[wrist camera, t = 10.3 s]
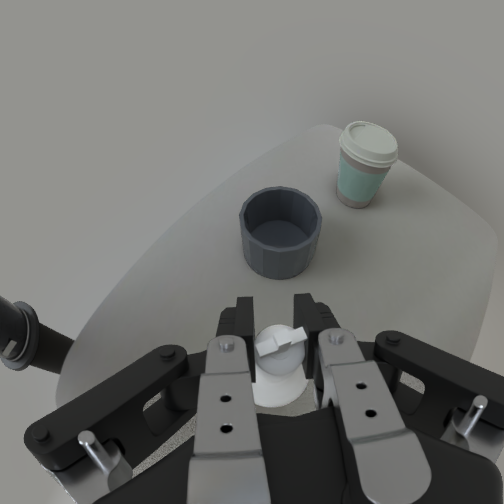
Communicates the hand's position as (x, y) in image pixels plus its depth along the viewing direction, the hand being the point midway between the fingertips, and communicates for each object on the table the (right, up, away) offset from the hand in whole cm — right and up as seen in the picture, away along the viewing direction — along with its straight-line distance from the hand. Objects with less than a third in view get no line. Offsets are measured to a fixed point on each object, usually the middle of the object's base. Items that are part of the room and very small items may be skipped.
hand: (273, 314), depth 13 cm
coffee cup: (+15, +12, +29) cm, 35 cm away
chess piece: (0, -5, +4) cm, 6 cm away
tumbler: (+3, +3, +25) cm, 25 cm away
